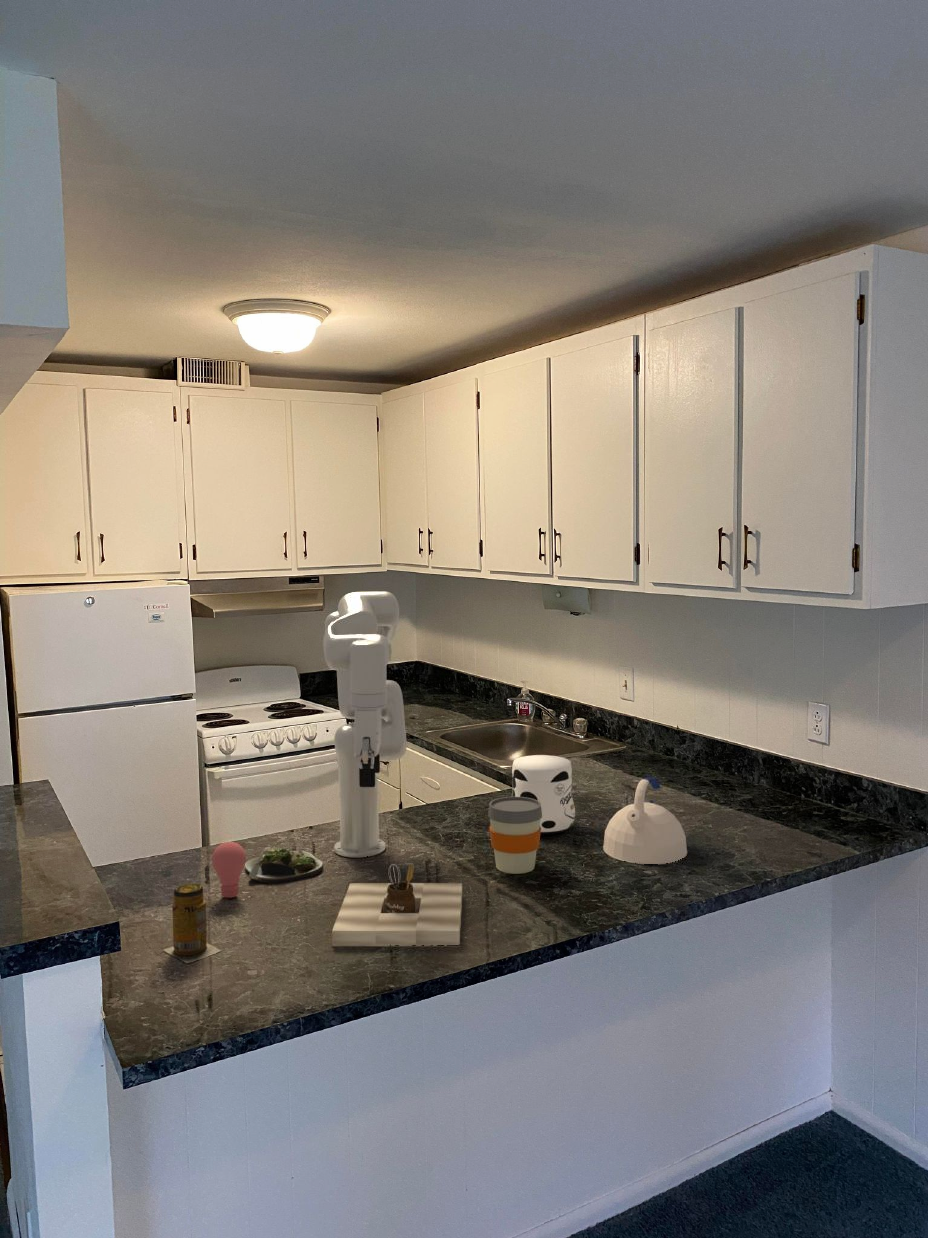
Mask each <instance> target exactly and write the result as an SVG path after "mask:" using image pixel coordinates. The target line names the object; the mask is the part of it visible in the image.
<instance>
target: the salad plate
mask: <svg viewBox="0 0 928 1238" xmlns="http://www.w3.org/2000/svg"><path fill="white" fill-rule="evenodd" d="M244 867H245V869H246V871H247V872H248V873H249V875H248V878H250V879H251V880H255V881H257V882H259V883H264V884H282V883H289V882H295V881H299V880H304V879H309V878H312V877H314V876H316V875H318V874H319V873H320V872H321V871H322V870H323V867H324V863H323V862H322V860H320V859H318V858H317V857H315V855H313V854H312V853H310V852H308V851H304V850H288V849H287V848H283V847H281V849H280V848H279V849H276V850H274V848H270V850H268V849H265V850H262V851H261V852H260V854H259V856H258V857H255V858H251V859H250V860H248V861H247V860H246V862H245V865H244Z"/></svg>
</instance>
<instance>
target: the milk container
mask: <svg viewBox="0 0 928 1238" xmlns="http://www.w3.org/2000/svg"><path fill="white" fill-rule="evenodd" d="M511 767H512V769H511V772H512V778H511V780H512V781H511V783H512V794H511V797H527V798H532V799H535V800H537V801H539V802H540V803H541V810H542V818H541V819H540V827H541V834H540V835H553V834H554V835H555V834H560V833H562V832H566V831H568V830H569V829H570V828H571V827H573V825H574V823H575V818H576V817H575V816H576V808H575V807H576V806H575V803H574V799H573V793H572V789H573V788H572V785H573V784H572V783H573V782H572V781H573V780H572V779H573V777H572V775H573V774H572V772H573V771H572V761H571V760H569V759H568V758H565V757H561V756H557V755H547V754H535V755H534V754H533V755H526V756H521V757H517V758H515V759H513V761H512V766H511Z"/></svg>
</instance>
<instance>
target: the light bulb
mask: <svg viewBox="0 0 928 1238" xmlns="http://www.w3.org/2000/svg"><path fill="white" fill-rule="evenodd" d="M246 862H247V855H246V851H245V849H244V848H243V847H242V846H241V845H240V844H239V843H237V842H234V841H227V842H223V843H221V844H219V845H217V847H216V848H215V849H214V851H213V852H212V856H211V865H212V867H213V869H214V870H215V873H216V874H217V876H218V877H219V883H220V885H221V886H220V892H221V896H222V897H223V898H230V899H231V898H235V897H237V896H238V895H239V883H240V876H241V873H242V872H243V871H244V867H245V863H246Z"/></svg>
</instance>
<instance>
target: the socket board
mask: <svg viewBox="0 0 928 1238" xmlns="http://www.w3.org/2000/svg"><path fill="white" fill-rule="evenodd" d="M392 883H393V882H390V883H389V882H380V883H379V882H377V883H376V882H374V883H373V882H371V883H370V882H369V883H368V882H366V883H365V882H364V883H363V882H361V883H360V882H357V883H356V882H350V883H349V886H348V888H347V891H346V892H345V896H344V898H343V902H342V904H341V906H340V909H339V911H338V914H337V917H336V919H335V922H334V925H333V927H332V931H331V943H332V944H331V945H332V947H396V946H395V945H399V946H398V947H413V946H412V945H416V946H415V947H438V946H437V945H444V946H443V947H448V946H447V945H459V944H460V942H461V941H460V940H461V926H462V925H461V924H462V906H463V883H462V882H409V883H410V884H412V886H413V894H414V896H415V913H386V897H387V895H388V893H387V889H388V886H389V885H390V884H392ZM390 945H391V946H390ZM422 945H424V946H422ZM431 945H433V946H431ZM460 945H461V944H460ZM460 945H459V946H460Z"/></svg>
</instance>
